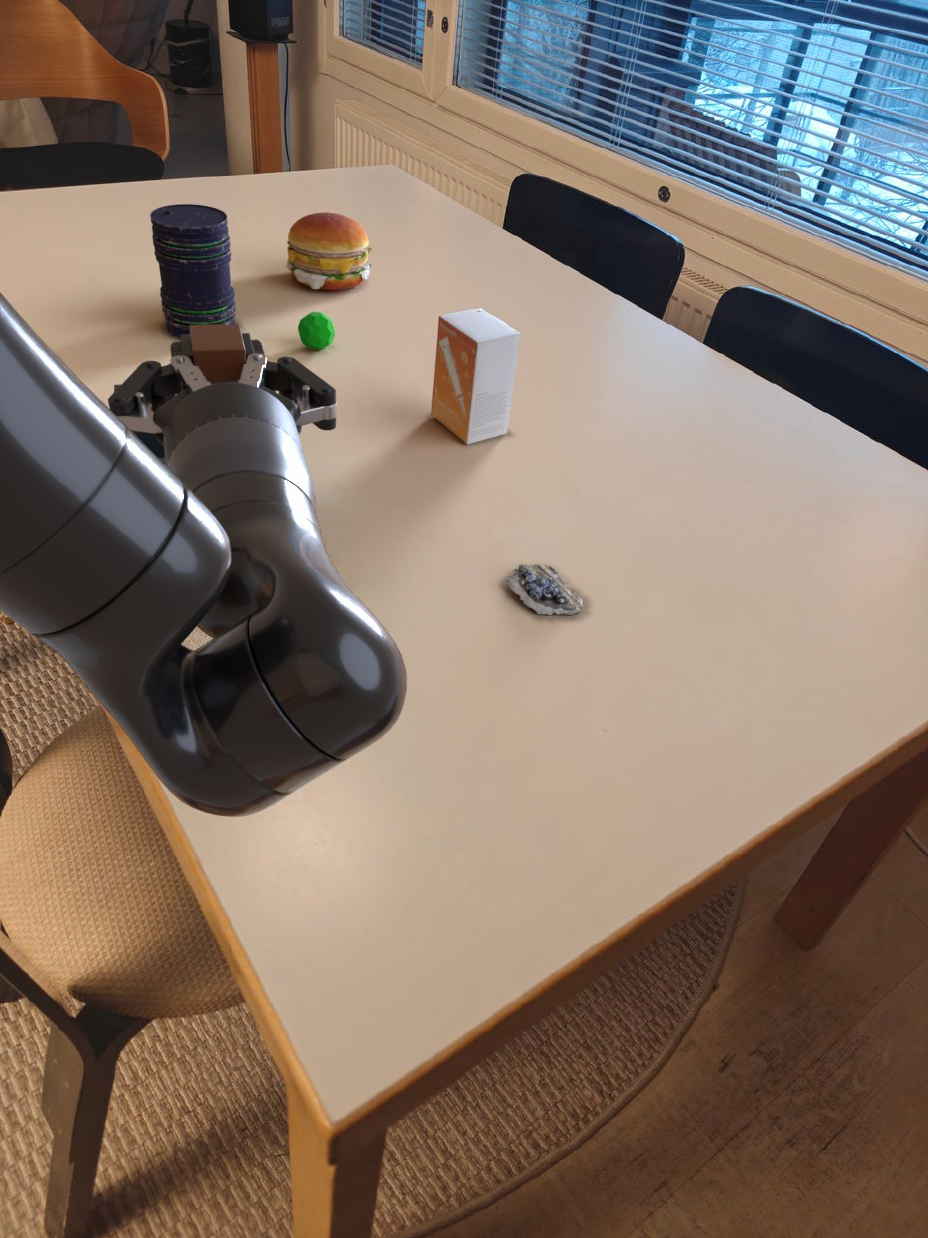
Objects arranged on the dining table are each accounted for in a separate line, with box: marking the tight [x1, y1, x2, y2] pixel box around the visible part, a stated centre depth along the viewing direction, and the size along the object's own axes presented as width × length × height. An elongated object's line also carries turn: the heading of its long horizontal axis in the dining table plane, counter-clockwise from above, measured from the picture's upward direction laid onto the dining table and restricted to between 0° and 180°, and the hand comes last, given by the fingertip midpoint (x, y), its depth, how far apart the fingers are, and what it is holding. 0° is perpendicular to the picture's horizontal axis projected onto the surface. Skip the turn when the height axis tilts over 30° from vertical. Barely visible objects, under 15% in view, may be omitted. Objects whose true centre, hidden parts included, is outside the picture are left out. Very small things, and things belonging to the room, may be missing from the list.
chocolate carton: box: [189, 323, 246, 382], centre depth 59 cm, size 3×4×12 cm
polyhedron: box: [297, 311, 336, 351], centre depth 118 cm, size 5×5×5 cm
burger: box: [286, 211, 373, 291], centre depth 136 cm, size 13×14×10 cm
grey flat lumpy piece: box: [504, 563, 584, 616], centre depth 83 cm, size 7×8×2 cm
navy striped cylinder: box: [149, 203, 237, 340], centre depth 117 cm, size 10×10×15 cm
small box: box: [430, 307, 521, 445], centre depth 103 cm, size 8×6×13 cm
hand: (215, 347), depth 59 cm, fingers closed on chocolate carton, 3 cm apart
